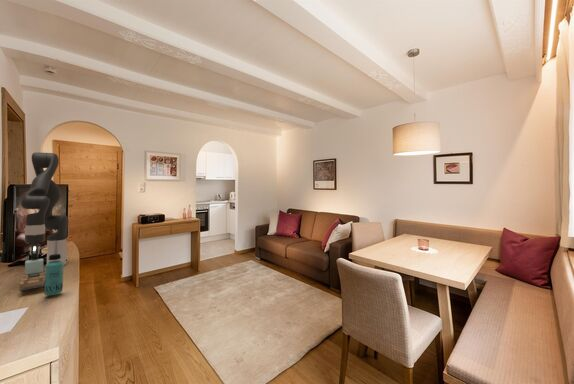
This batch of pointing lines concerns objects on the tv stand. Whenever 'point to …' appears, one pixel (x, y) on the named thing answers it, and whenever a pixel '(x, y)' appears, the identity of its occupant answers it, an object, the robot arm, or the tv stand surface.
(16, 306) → the tv stand surface
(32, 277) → the beam
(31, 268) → the grey rectangular block
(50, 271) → the beverage bottle
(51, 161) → the robot arm
